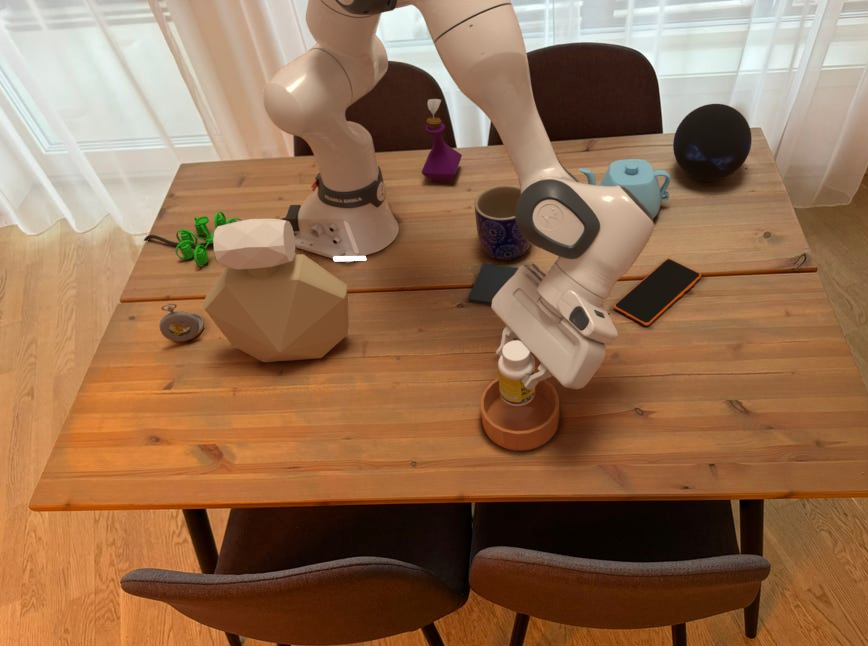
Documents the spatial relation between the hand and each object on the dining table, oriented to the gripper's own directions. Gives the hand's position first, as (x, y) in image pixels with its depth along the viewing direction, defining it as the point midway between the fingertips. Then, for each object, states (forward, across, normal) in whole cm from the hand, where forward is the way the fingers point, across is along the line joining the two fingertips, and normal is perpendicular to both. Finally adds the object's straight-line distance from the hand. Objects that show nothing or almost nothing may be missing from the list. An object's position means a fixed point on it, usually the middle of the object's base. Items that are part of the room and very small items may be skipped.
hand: (513, 371), depth 109 cm
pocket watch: (+37, -51, -19) cm, 66 cm away
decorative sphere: (-40, -31, +57) cm, 76 cm away
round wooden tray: (+8, 0, +9) cm, 12 cm away
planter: (-7, -36, +24) cm, 44 cm away
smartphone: (-17, -9, +34) cm, 40 cm away
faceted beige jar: (+26, -36, -8) cm, 45 cm away
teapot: (-25, -32, +42) cm, 58 cm away
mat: (-2, -27, +19) cm, 33 cm away
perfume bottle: (-8, -65, +26) cm, 71 cm away
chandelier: (+28, -73, -10) cm, 79 cm away
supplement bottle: (+4, 0, +4) cm, 6 cm away
